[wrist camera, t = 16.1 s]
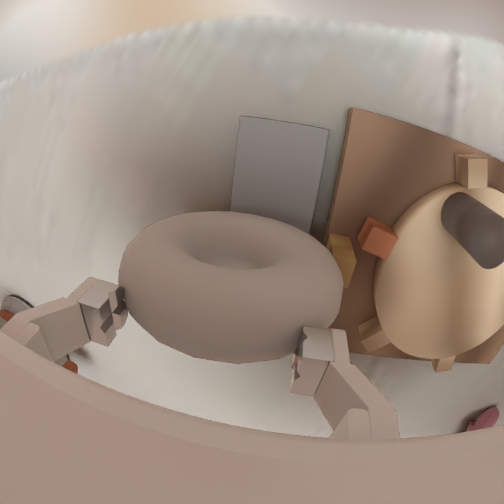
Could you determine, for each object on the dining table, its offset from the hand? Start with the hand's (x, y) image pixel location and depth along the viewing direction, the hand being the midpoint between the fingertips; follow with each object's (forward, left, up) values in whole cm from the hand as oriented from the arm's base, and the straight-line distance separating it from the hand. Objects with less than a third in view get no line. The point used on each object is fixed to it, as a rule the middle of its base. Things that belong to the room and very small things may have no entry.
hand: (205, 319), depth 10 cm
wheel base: (-14, 0, -10) cm, 17 cm away
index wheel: (-14, 0, -8) cm, 16 cm away
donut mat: (-1, 0, -10) cm, 10 cm away
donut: (-2, 0, -8) cm, 9 cm away
